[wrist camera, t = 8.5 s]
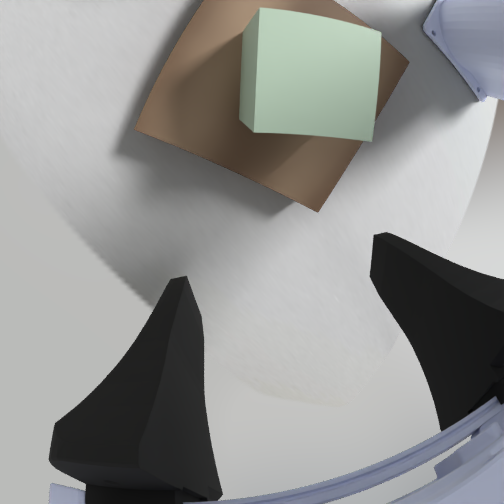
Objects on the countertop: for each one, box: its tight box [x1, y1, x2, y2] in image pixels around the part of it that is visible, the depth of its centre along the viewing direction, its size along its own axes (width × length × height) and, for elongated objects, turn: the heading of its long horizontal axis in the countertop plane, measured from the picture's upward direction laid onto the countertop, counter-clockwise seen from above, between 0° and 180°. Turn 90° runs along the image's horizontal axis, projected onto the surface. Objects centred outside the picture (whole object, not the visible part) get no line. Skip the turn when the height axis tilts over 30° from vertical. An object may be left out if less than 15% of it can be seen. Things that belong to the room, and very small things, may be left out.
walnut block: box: [134, 0, 409, 212], centre depth 15 cm, size 12×12×4 cm
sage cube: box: [239, 8, 381, 142], centre depth 11 cm, size 5×5×5 cm
